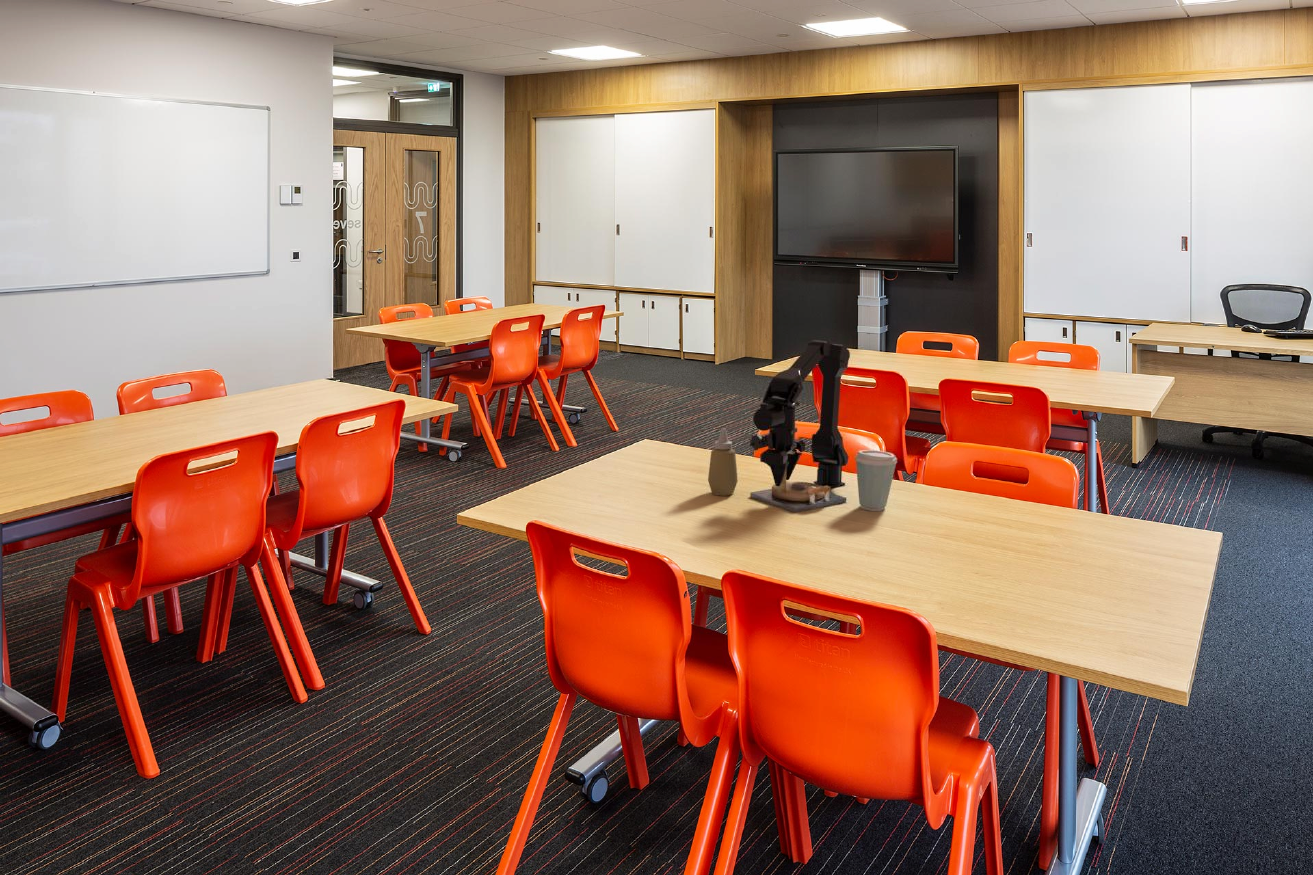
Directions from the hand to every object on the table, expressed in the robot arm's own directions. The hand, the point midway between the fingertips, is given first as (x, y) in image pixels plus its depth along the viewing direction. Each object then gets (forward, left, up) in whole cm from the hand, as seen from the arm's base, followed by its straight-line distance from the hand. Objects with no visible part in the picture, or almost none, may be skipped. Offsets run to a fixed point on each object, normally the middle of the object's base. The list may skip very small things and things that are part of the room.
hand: (782, 482), depth 268 cm
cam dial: (-6, 0, -4) cm, 7 cm away
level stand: (-6, 0, -6) cm, 8 cm away
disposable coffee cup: (-17, +17, -6) cm, 24 cm away
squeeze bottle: (+7, -16, -6) cm, 19 cm away
